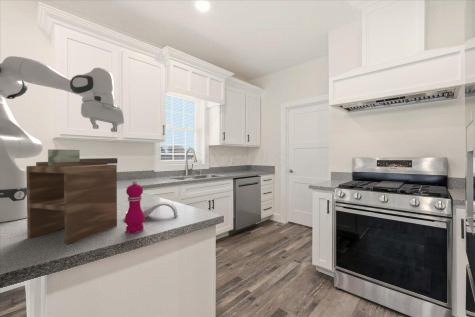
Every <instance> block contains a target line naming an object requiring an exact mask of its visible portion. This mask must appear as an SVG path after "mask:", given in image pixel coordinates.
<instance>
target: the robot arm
mask: <svg viewBox="0 0 475 317" xmlns="http://www.w3.org/2000/svg"><path fill="white" fill-rule="evenodd" d="M28 83H29V84H31V85H37V86H41V87H47V88H52V89H57V90H61V91H65V92H69V93H72V94H75V95H77V96H80V97H82V98H81V101H82V102H81V107H80V114H81V116H82V118H84V119H89V122H90V123H91V125H92V129H93V130H99V124H97V121H98V122H104V123H109V124H111V125H112V127H111V128H110V132H111V133H116V132H117V128H118V126H119V125H123V124H124V123H125V118H124V113H123V109H122V108H121V107H120V106H116V105H115V95H114V90H115V88H114V87H115V86H114V77H113V74H112V73H111V72H110V71H108V70H107V69H104V68H101V67H94V68H93V69H91V70H90V71H89V72H87V73H83V74H77V75H75V76H72V77H71V79H70V78H68V77H66V76H65V75H63V74H62V73H60V72H58V71H57V70H55V69H54V68H52V67H50V66H49V65H47V64H44V63H42V62H40V61H37V60H35V59H32V58H27V57H22V56H13V55H10V56H7V57H5V58H4V59H3V61H2V62H1V63H0V223H5V222H12V221H17V220H22V219H25V218H27V172H26V168H24V167H22V166H19V165H18V164H17V162H16V160H15V159H28V158H29V159H30V158H35V157H37V156H39V155H40V154H41V153H42V151H43V144H42V142H41V141H40V140H39V139H37V138H36V137H34V136H32V135H31V134H29V133H28V132H27V131H26V130H25V129H24V128H22V127H21V126H20V125H19V123H18V122H17V120H16V119H15V117H14V115H13V112H11V109H10V106H9V105H8V103H7V99H8V100H14V99H16V98H18V97H22V96H23V95H24V94H26V93H27V91H28Z"/></svg>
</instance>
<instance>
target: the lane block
mask: <svg viewBox="0 0 475 317" xmlns="http://www.w3.org/2000/svg"><path fill="white" fill-rule="evenodd" d="M86 161H107V164H112V165H116V164H118V157H106V158H105V157H102V158H101V157H98V158H96V157H95V158H80V149H47V162H48V166H54V163H57V162H86Z"/></svg>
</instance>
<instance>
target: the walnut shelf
mask: <svg viewBox="0 0 475 317" xmlns="http://www.w3.org/2000/svg"><path fill="white" fill-rule="evenodd" d="M117 167H118V166H117V164H107V161H86V162H57V163H54V166H48V161H36V162H35V165H26V167H25V170H26V172H27V217H26V218H27V219H26V224H27V225H26V226H27V230H26V231H27V239H33V238H37V237H38V236H43V235H45V234H50V233H51V232H56V231H59V230H62V229H64V245H72V244H74V243H76V242H77V243H78V242H79V241H81V240H85V239H86V238H87V239H88V238H89V237H92V236H95V235H97V234H100V233H102V232H104V231H105V232H106V231H108V230H109V229H112V228H115V227H117V226H118V195H117V194H118V172H117V170H118V168H117Z"/></svg>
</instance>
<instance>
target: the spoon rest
mask: <svg viewBox="0 0 475 317" xmlns="http://www.w3.org/2000/svg"><path fill="white" fill-rule="evenodd" d="M162 206H167V207H169V208H170V209H171V210H172V212H173V217H174V218H176V217H178V209H177V207H176V205H174V204H173V203H171V202H167V201H160V202H157V203H154V204H152V205H151V204H150V205H146V206H140V207H141V210H142V211H143V213H144V217H145V219H147V218H148V217H149V216H150V215H151V214H152V213H153V212H154V211H155V210H156V209H157V208H159V207H162ZM127 212H128V210H127V211H125V212H124V215H126V214H127Z"/></svg>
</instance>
